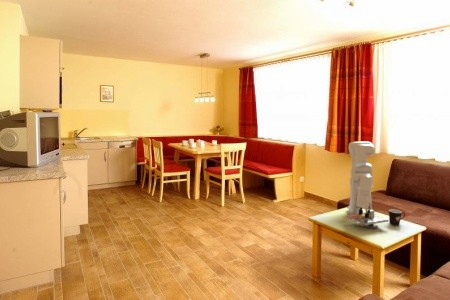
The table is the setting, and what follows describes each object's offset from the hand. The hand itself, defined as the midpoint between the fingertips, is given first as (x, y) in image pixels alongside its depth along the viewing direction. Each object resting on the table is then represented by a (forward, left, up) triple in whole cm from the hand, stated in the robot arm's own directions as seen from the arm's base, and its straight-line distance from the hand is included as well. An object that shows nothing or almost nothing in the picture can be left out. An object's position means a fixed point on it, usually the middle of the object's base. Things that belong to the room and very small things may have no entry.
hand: (363, 216), depth 219 cm
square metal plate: (0, +3, -8) cm, 9 cm away
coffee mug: (+4, +28, -8) cm, 29 cm away
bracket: (0, -9, -1) cm, 9 cm away
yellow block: (0, 0, -7) cm, 7 cm away
